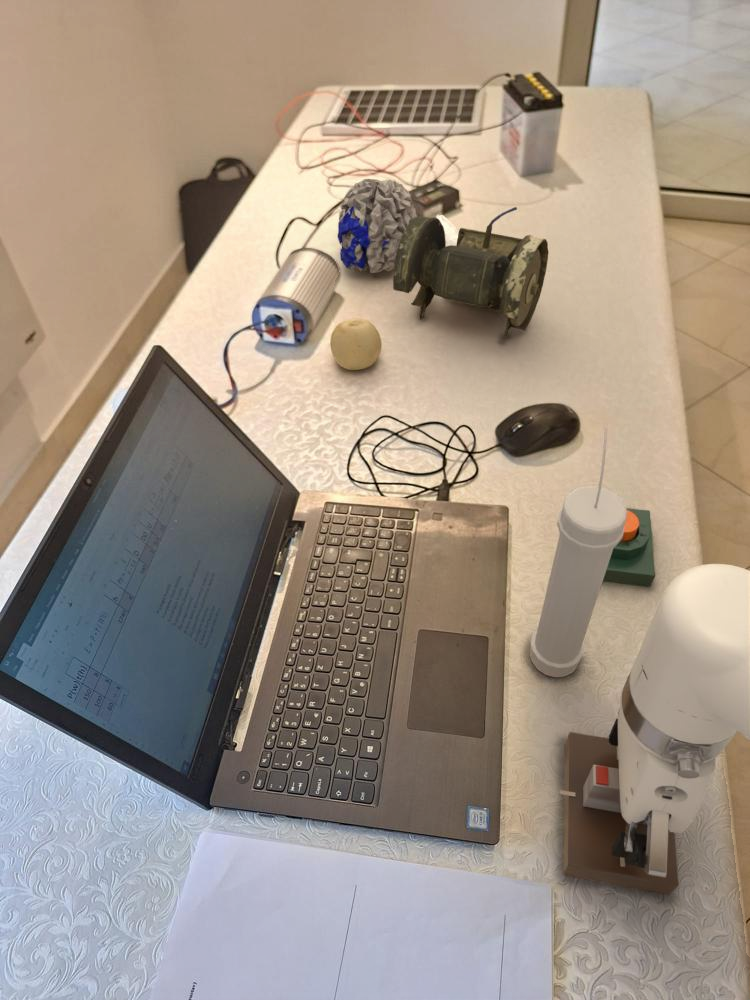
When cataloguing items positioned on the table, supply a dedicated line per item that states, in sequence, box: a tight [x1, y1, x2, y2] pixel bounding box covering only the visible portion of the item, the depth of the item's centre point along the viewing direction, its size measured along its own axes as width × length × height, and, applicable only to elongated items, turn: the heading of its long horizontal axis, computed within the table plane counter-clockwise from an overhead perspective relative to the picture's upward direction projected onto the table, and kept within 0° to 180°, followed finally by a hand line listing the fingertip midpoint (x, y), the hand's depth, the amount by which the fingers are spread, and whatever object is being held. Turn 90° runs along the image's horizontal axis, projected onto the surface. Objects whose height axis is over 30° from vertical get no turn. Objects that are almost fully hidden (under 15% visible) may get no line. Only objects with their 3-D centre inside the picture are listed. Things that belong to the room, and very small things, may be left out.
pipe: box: [529, 427, 627, 678], centre depth 67 cm, size 6×6×30 cm
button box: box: [603, 507, 656, 588], centre depth 86 cm, size 10×8×4 cm
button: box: [620, 510, 639, 542], centre depth 84 cm, size 4×4×2 cm
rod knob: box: [583, 765, 621, 813], centre depth 63 cm, size 6×2×5 cm, turn 79°
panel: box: [558, 731, 679, 896], centre depth 66 cm, size 12×11×3 cm
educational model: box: [336, 178, 418, 274], centre depth 132 cm, size 14×20×15 cm
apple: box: [329, 318, 382, 371], centre depth 112 cm, size 8×8×8 cm
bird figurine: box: [435, 213, 459, 246], centre depth 134 cm, size 5×7×10 cm
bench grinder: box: [392, 206, 549, 339], centre depth 116 cm, size 20×22×20 cm
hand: (628, 796), depth 63 cm, fingers open, 9 cm apart
